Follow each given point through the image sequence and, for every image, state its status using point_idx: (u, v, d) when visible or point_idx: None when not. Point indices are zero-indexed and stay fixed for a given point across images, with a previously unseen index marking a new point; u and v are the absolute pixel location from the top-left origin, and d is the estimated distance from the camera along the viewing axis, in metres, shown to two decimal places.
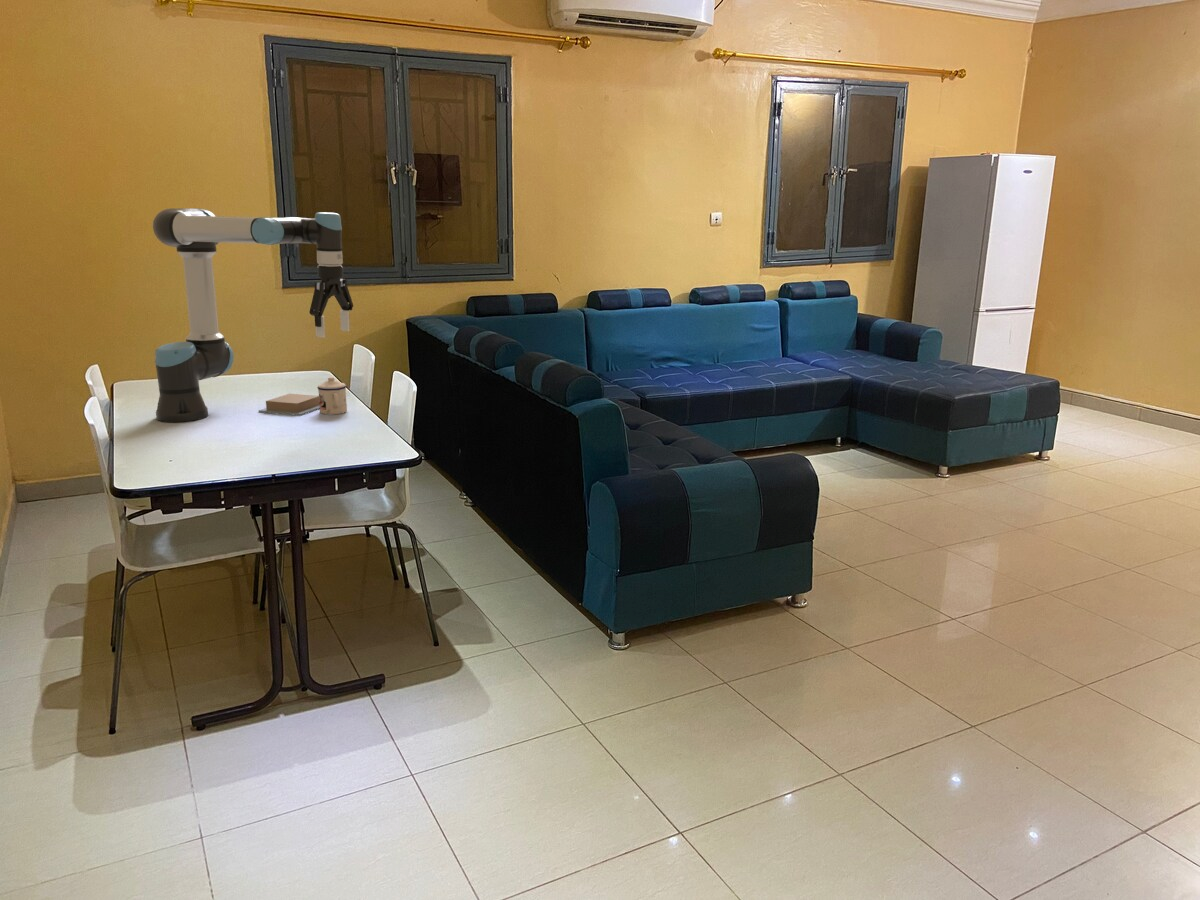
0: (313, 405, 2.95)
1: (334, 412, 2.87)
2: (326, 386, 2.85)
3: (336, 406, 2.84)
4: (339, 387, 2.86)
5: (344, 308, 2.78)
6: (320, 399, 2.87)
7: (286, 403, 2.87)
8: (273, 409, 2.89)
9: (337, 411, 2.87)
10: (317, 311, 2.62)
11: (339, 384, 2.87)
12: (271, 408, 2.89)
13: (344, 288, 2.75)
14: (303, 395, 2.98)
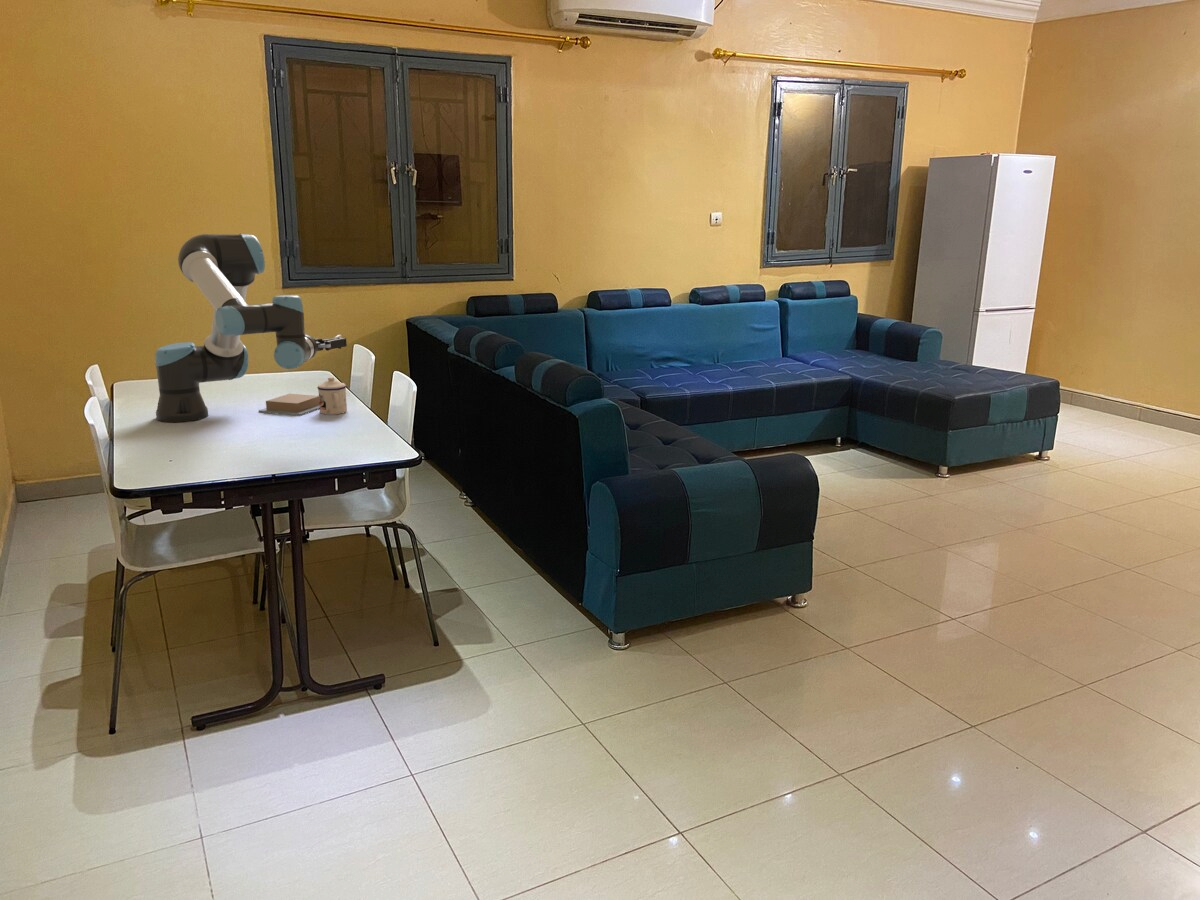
0: (313, 405, 2.95)
1: (334, 412, 2.87)
2: (326, 386, 2.85)
3: (336, 406, 2.84)
4: (339, 387, 2.86)
5: None
6: (320, 399, 2.87)
7: (286, 403, 2.87)
8: (273, 409, 2.89)
9: (337, 411, 2.87)
10: None
11: (339, 384, 2.87)
12: (271, 408, 2.89)
13: None
14: (303, 395, 2.98)
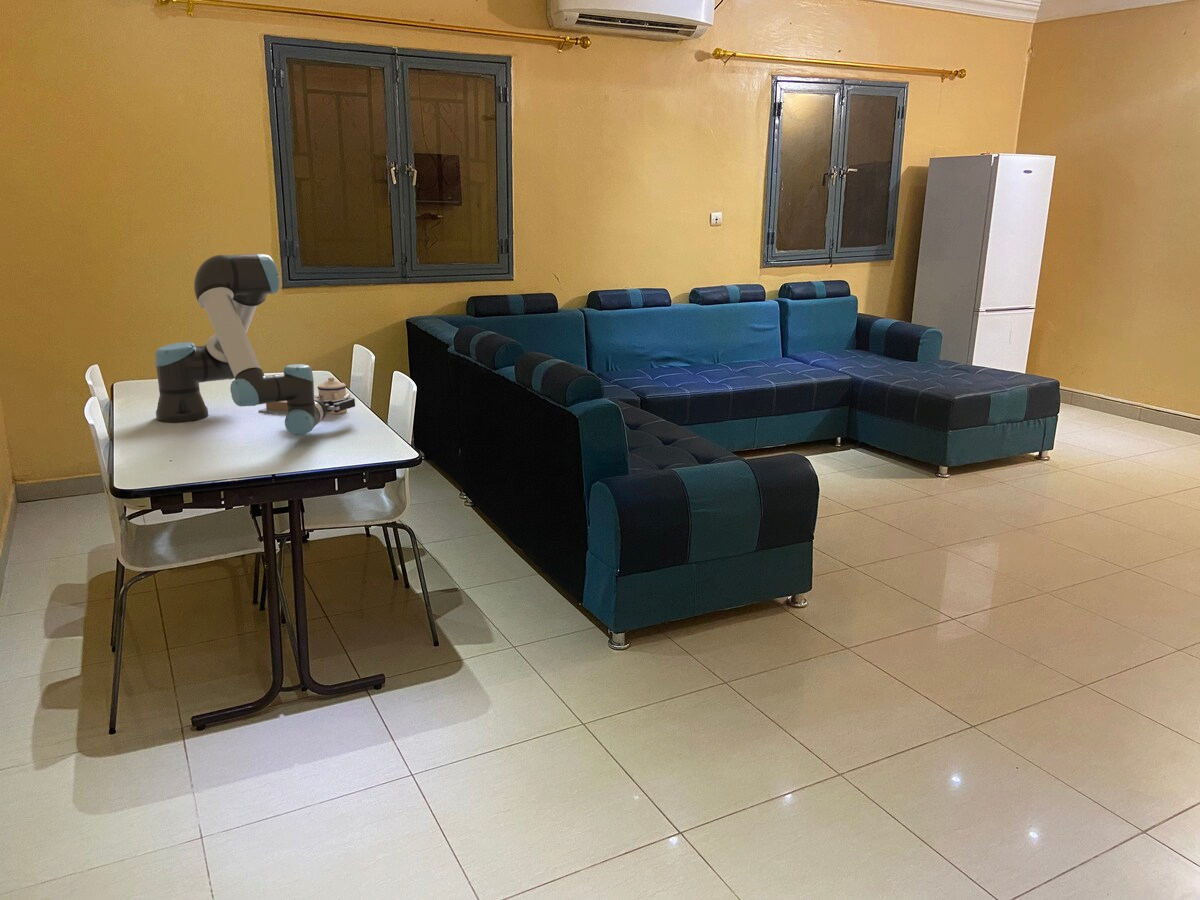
0: None
1: (334, 412, 2.87)
2: (326, 386, 2.85)
3: None
4: (339, 387, 2.86)
5: None
6: (320, 399, 2.87)
7: (286, 403, 2.87)
8: (273, 409, 2.89)
9: None
10: None
11: (339, 384, 2.87)
12: (271, 408, 2.89)
13: None
14: None
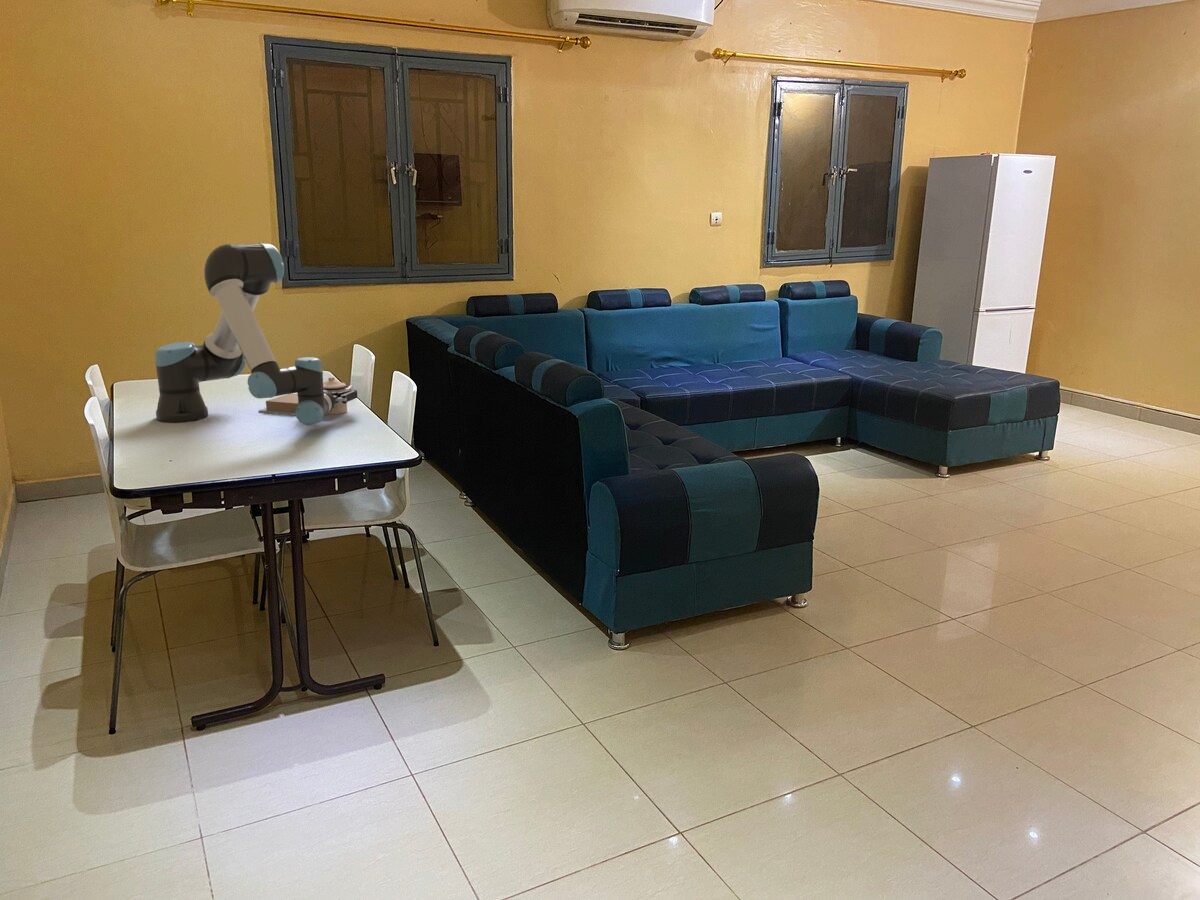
0: None
1: (334, 412, 2.87)
2: (326, 386, 2.85)
3: (336, 406, 2.84)
4: (339, 387, 2.86)
5: None
6: None
7: (286, 403, 2.87)
8: (273, 409, 2.89)
9: (337, 411, 2.87)
10: None
11: (339, 384, 2.87)
12: (271, 408, 2.89)
13: None
14: None
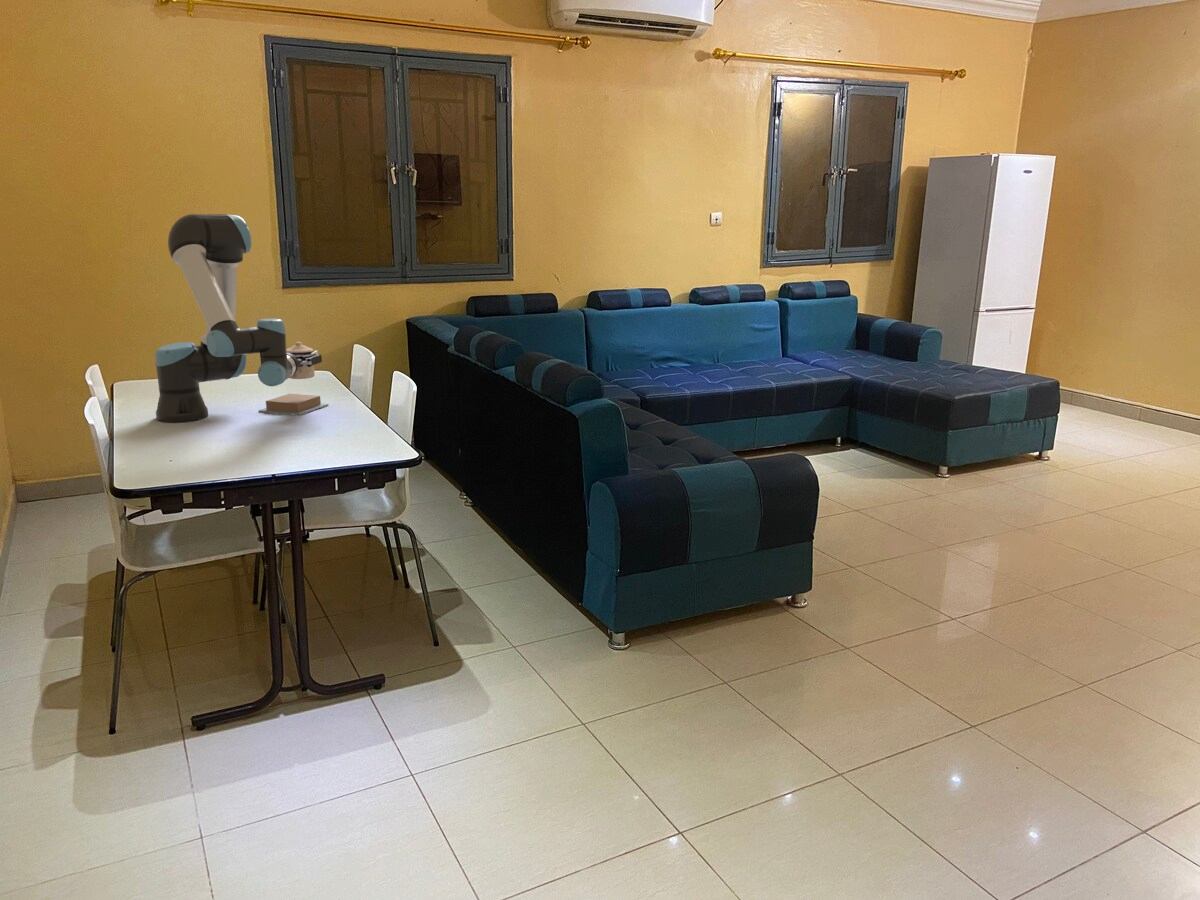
0: (313, 405, 2.95)
1: (301, 376, 2.88)
2: (293, 350, 2.86)
3: (302, 370, 2.85)
4: (306, 352, 2.87)
5: None
6: None
7: (286, 403, 2.87)
8: (273, 409, 2.89)
9: (303, 376, 2.88)
10: None
11: (306, 349, 2.88)
12: (271, 408, 2.89)
13: None
14: (303, 395, 2.98)
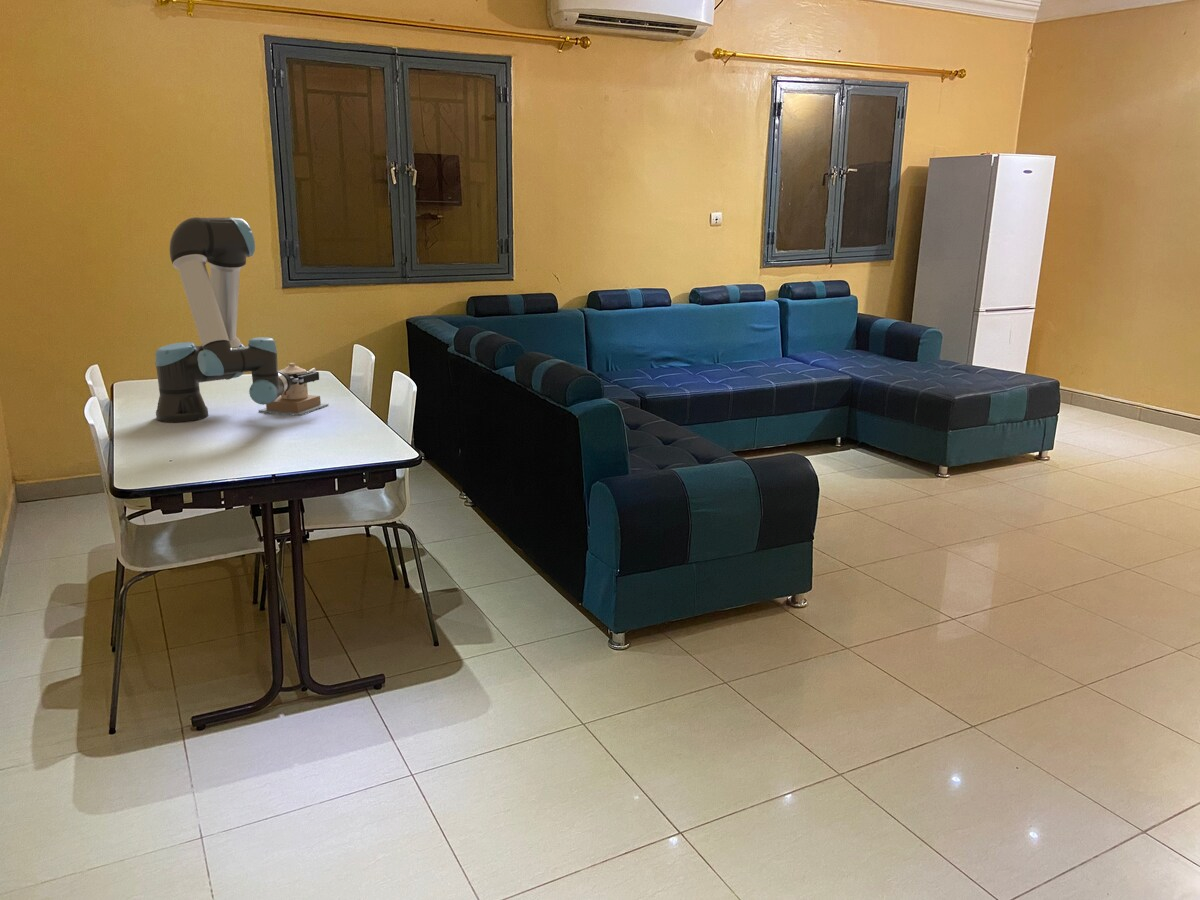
0: (313, 405, 2.95)
1: (294, 397, 2.91)
2: (286, 371, 2.89)
3: (295, 391, 2.88)
4: (299, 373, 2.90)
5: None
6: None
7: (286, 403, 2.87)
8: (273, 409, 2.89)
9: (297, 396, 2.91)
10: None
11: (299, 370, 2.91)
12: (271, 408, 2.89)
13: None
14: None
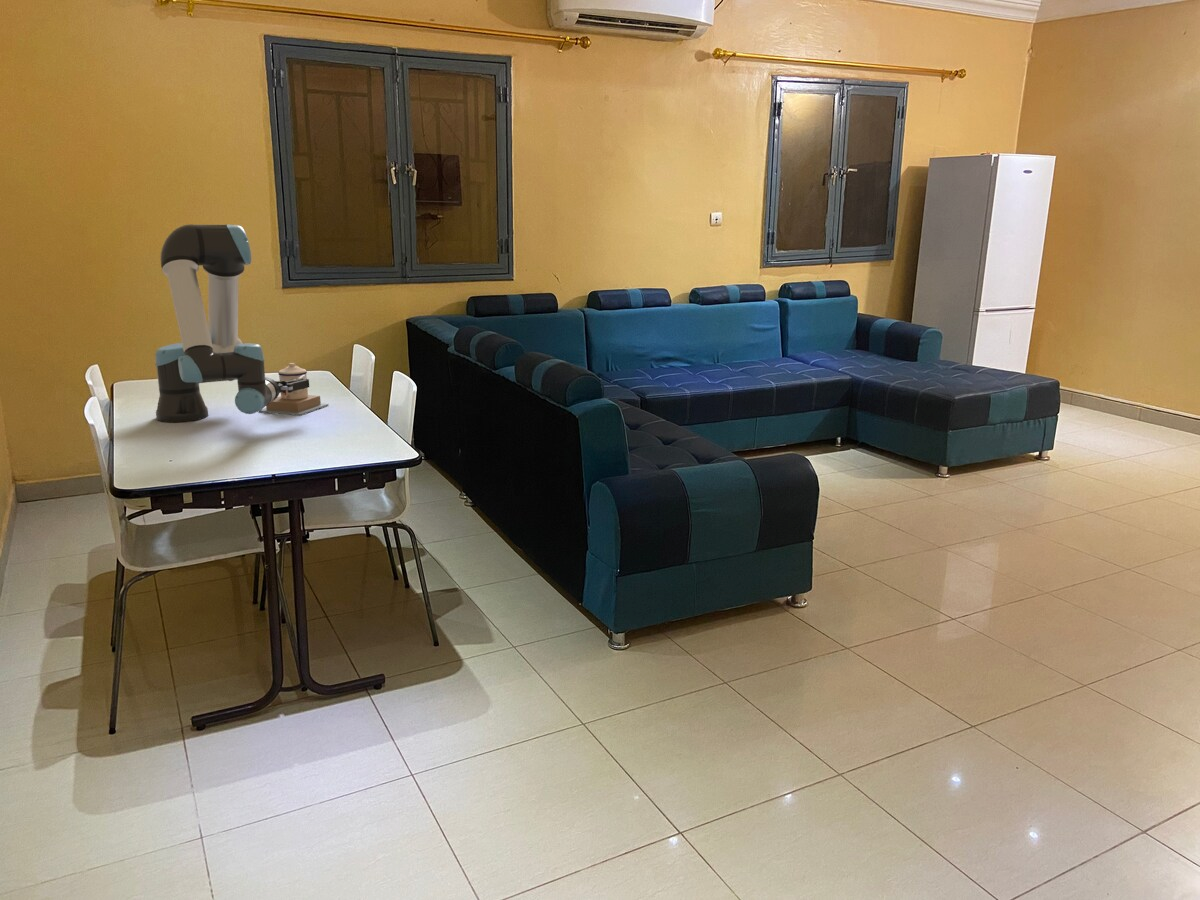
0: (313, 405, 2.95)
1: (294, 397, 2.91)
2: (286, 372, 2.89)
3: (295, 391, 2.88)
4: (299, 373, 2.90)
5: None
6: None
7: (286, 403, 2.87)
8: (273, 409, 2.89)
9: (297, 396, 2.91)
10: None
11: (299, 370, 2.91)
12: (271, 408, 2.89)
13: None
14: None
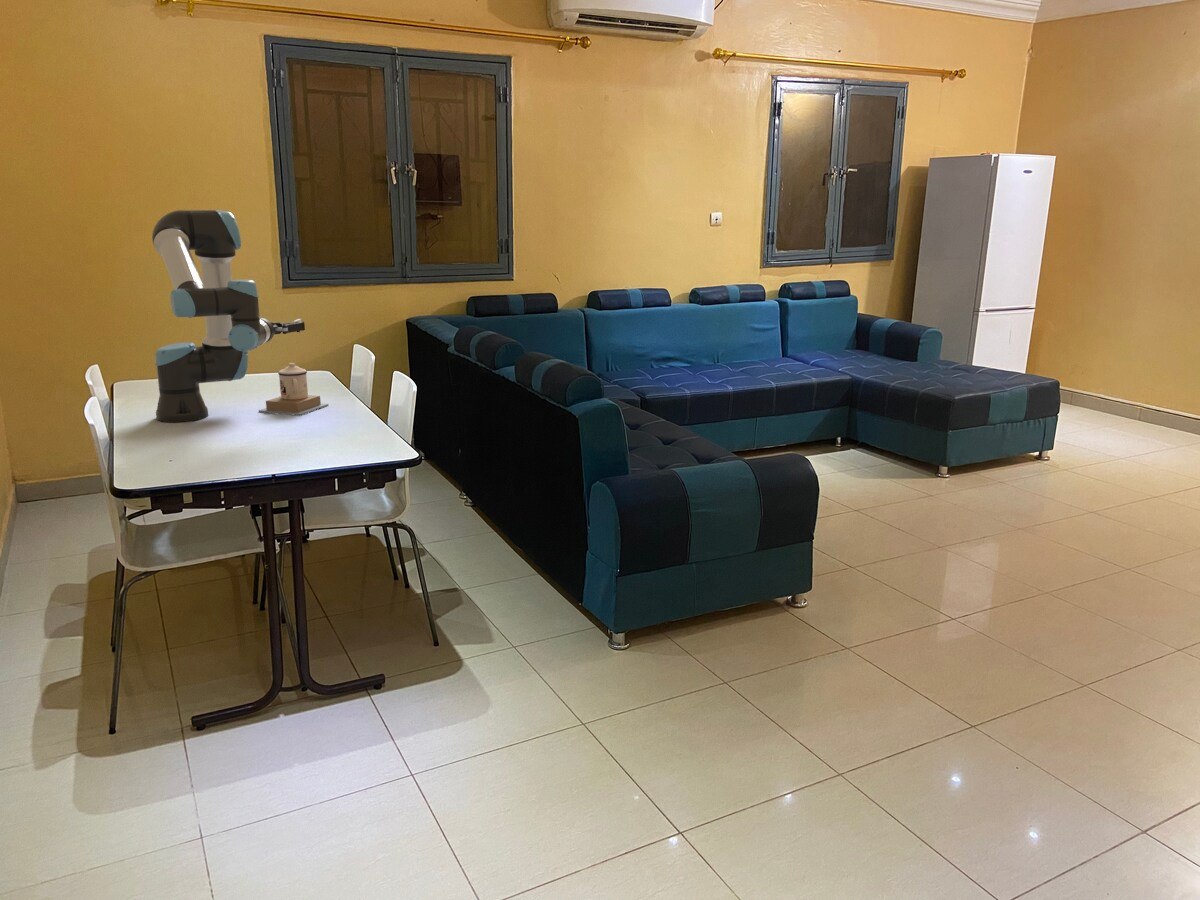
0: (313, 405, 2.95)
1: (294, 397, 2.91)
2: (286, 372, 2.89)
3: (295, 391, 2.88)
4: (299, 373, 2.90)
5: None
6: (280, 384, 2.91)
7: (286, 403, 2.87)
8: (273, 409, 2.89)
9: (297, 396, 2.91)
10: None
11: (299, 370, 2.91)
12: (271, 408, 2.89)
13: None
14: None
